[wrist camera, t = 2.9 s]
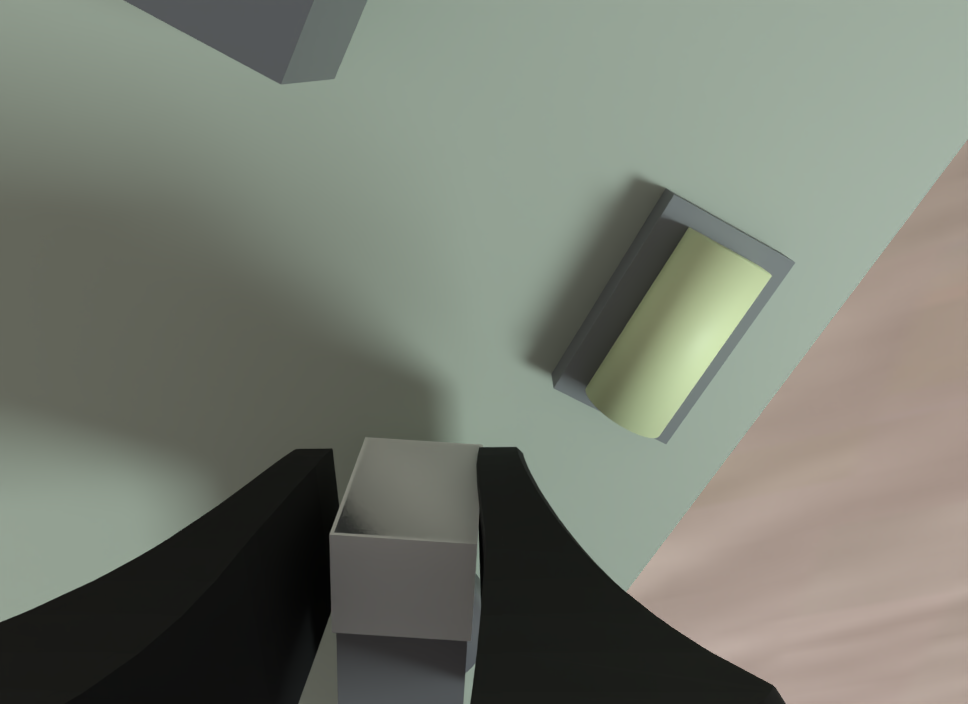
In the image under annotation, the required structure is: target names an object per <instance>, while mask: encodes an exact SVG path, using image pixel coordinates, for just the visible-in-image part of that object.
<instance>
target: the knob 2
mask: <svg viewBox="0 0 968 704" xmlns="http://www.w3.org/2000/svg"><path fill="white" fill-rule="evenodd" d="M479 447H483V445H481V444H465V443H449V442H434V441H418V440H402V439H387V438H371V437H365V439H364V442H363V445H362V448H361V450H360V453H359V456H358V458H357V461H356V464H355V466H354V469H353V472H352V475H351V477H350V480H349V483H348V485H347V488H346V491H345V494H344V496H343V499H342V502H341V504H340V507H339V510H338V513H337V515H336V518H335V521H334V523H333V526H332V529H331V531H330V534H329V542H330V581H331V621H332V633H336V641H337V686H338V704H463V702H464V686H465V673H466V672H468V671H469V670H470V669H471V668H472V667H473V666H474V664H475V662H476V654H477V644H478V634H479V624H480V614H481V591H480V579H479V577H478V576H477V574H476V559H477V543H478V525H479V499H478V489H477V469H476V464H477V456H478V451H479Z"/></svg>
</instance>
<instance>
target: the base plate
mask: <svg viewBox="0 0 968 704" xmlns="http://www.w3.org/2000/svg"><path fill="white" fill-rule="evenodd" d="M967 139H968V0H367V3H366V5H365V7H364V10H363V12H362V15H361V17H360V19H359V22H358V24H357V27H356V29H355V31H354V34H353V36H352V38H351V41H350V43H349V46H348V48H347V50H346V53H345V55H344V58H343V60H342V62H341V65H340V67H339V70H338V72H337V74H336V77H335V79H330V80H321V81H311V82H302V83H292V84H282V85H281V84H279V83H277V82H275V81H273V80H271V79H269V78H268V77H266V76H264V75H262V74H260V73H258V72H256V71H254V70H253V69H251V68H249V67H247V66H245V65H243V64H241V63H240V62H238V61H236V60H234V59H232V58H230V57H228V56H226V55H225V54H223V53H221V52H219V51H217V50H215V49H213V48H212V47H210V46H208V45H206V44H204V43H202V42H200V41H198V40H197V39H195V38H193V37H191V36H189V35H187V34H185V33H184V32H182V31H180V30H178V29H176V28H174V27H172V26H170V25H169V24H167V23H165V22H163V21H161V20H159V19H157V18H155V17H154V16H152V15H150V14H148V13H146V12H144V11H142V10H141V9H139V8H137V7H135V6H133V5H131V4H129V3H127V2H126V1H124V0H0V622H2V621H4V620H7V619H9V618H12V617H14V616H17V615H19V614H22V613H24V612H26V611H29V610H31V609H33V608H35V607H37V606H40V605H42V604H44V603H46V602H48V601H50V600H53V599H55V598H57V597H59V596H61V595H63V594H66V593H68V592H70V591H72V590H74V589H76V588H79V587H81V586H83V585H85V584H87V583H89V582H92V581H94V580H96V579H98V578H99V577H101V576H103V575H105V574H107V573H109V572H111V571H113V570H115V569H116V568H118V567H120V566H122V565H124V564H126V563H127V562H129V561H131V560H133V559H135V558H137V557H138V556H140V555H142V554H144V553H145V552H147V551H149V550H150V549H152V548H154V547H155V546H157V545H159V544H160V543H162V542H164V541H165V540H167V539H168V538H170V537H171V536H173V535H174V534H176V533H177V532H179V531H180V530H182V529H183V528H185V527H186V526H188V525H189V524H191V523H192V522H194V521H195V520H197V519H198V518H200V517H201V516H203V515H204V514H206V513H207V512H209V511H210V510H212V509H213V508H215V507H216V506H218V505H219V504H220V503H222V502H223V501H225V500H226V499H227V498H229V497H230V496H231V495H233V494H234V493H235V492H237V491H238V490H239V489H241V488H242V487H244V486H245V485H246V484H248V483H249V482H250V481H252V480H253V479H254V478H256V477H257V476H258V475H260V474H261V473H262V472H264V471H265V470H266V469H268V468H269V467H270V466H272V465H273V464H274V463H276V462H277V461H279V460H280V459H281V458H283V457H284V456H286V455H287V454H288V453H290V452H292V451H293V450H295V449H327V448H333V456H334V465H335V473H336V482H337V491H338V499H339V507H340V504H341V502H342V499H343V496H344V494H345V491H346V488H347V485H348V483H349V480H350V477H351V475H352V472H353V469H354V466H355V464H356V461H357V458H358V456H359V453H360V450H361V448H362V445H363V442H364V439H365V437H371V438H387V439H402V440H418V441H434V442H449V443H465V444H481V445H483V447H517V448H518V449H519V450H520V451H521V452H522V453H523V454H524V458H525V461H526V463H527V466H528V468H529V470H530V472H531V474H532V476H533V478H534V480H535V481H536V483H537V485H538V487H539V489H540V490H541V492H542V494H543V495H544V497H545V498H546V500H547V501H548V503H549V504H550V506H551V507H552V509H553V510H554V512H555V513H556V515H557V516H558V518H559V519H560V520H561V522H562V523H563V524H564V526H565V527H566V528H567V530H568V531H569V532H570V533H571V535H572V536H573V537H574V538H575V540H576V541H577V542H578V543H579V545H580V546H581V547H582V548H583V549H584V550H585V552H586V553H587V554H588V555H589V556H590V557H591V558H592V559H593V560H594V562H595V563H596V564H597V565H598V566H599V567H600V568H601V569H602V570H603V571H604V572H605V573H606V574H607V575H608V576H609V577H610V578H611V579H612V580H613V581H614V582H615V583H616V584H618V585H619V586H620V587H621V588H622V589H623V590H624V591H625V592H626V591H627V590H628V589H629V587H630V586H631V585H632V583H633V582H634V581H635V579H636V578H637V577H638V575H639V574H640V573H641V571H642V570H643V569H644V567H645V566H646V565H647V563H648V562H649V561H650V559H651V558H652V557H653V555H654V554H655V553H656V552H657V550H658V549H659V548H660V546H661V545H662V544H663V542H664V541H665V540H666V538H667V537H668V536H669V534H670V533H671V532H672V530H673V529H674V528H675V526H676V525H677V524H678V522H679V521H680V520H681V518H682V517H683V516H684V514H685V513H686V512H687V510H688V509H689V508H690V506H691V505H692V504H693V502H694V501H695V500H696V498H697V497H698V496H699V495H700V493H701V492H702V491H703V489H704V488H705V487H706V485H707V484H708V483H709V481H710V480H711V479H712V477H713V476H714V475H715V473H716V472H717V471H718V469H719V468H720V467H721V465H722V464H723V463H724V461H725V460H726V459H727V457H728V456H729V455H730V453H731V452H732V451H733V449H734V448H735V447H736V445H737V444H738V443H739V441H740V440H741V439H742V438H743V436H744V435H745V434H746V432H747V431H748V430H749V428H750V427H751V426H752V424H753V423H754V422H755V420H756V419H757V418H758V416H759V415H760V414H761V412H762V411H763V410H764V408H765V407H766V406H767V404H768V403H769V402H770V400H771V399H772V398H773V396H774V395H775V394H776V392H777V391H778V390H779V388H780V387H781V386H782V384H783V383H784V382H785V381H786V379H787V378H788V377H789V375H790V374H791V373H792V371H793V370H794V369H795V367H796V366H797V365H798V363H799V362H800V361H801V359H802V358H803V357H804V355H805V354H806V353H807V351H808V350H809V349H810V347H811V346H812V345H813V343H814V342H815V341H816V339H817V338H818V337H819V335H820V334H821V333H822V331H823V330H824V329H825V327H826V326H827V325H828V324H829V322H830V321H831V320H832V318H833V317H834V316H835V314H836V313H837V312H838V310H839V309H840V308H841V306H842V305H843V304H844V302H845V301H846V300H847V298H848V297H849V296H850V294H851V293H852V292H853V290H854V289H855V288H856V286H857V285H858V284H859V282H860V281H861V280H862V278H863V277H864V276H865V274H866V273H867V272H868V270H869V269H870V268H871V267H872V265H873V264H874V263H875V261H876V260H877V259H878V257H879V256H880V255H881V253H882V252H883V251H884V249H885V248H886V247H887V245H888V244H889V243H890V241H891V240H892V239H893V237H894V236H895V235H896V233H897V232H898V231H899V229H900V228H901V227H902V225H903V224H904V223H905V221H906V220H907V219H908V217H909V216H910V215H911V213H912V212H913V211H914V210H915V208H916V207H917V206H918V204H919V203H920V202H921V200H922V199H923V198H924V196H925V195H926V194H927V192H928V191H929V190H930V188H931V187H932V186H933V184H934V183H935V182H936V180H937V179H938V178H939V176H940V175H941V174H942V172H943V171H944V170H945V168H946V167H947V166H948V164H949V163H950V162H951V160H952V159H953V158H954V156H955V155H956V154H957V153H958V151H959V150H960V149H961V147H962V146H963V145H964V143H965V142H966V141H967ZM476 574H477V576H478V577H479V579H480V560H479V530H478V543H477V559H476ZM474 670H475V664H474V666H473V667H472V668H471V669H470V670H469V671H468V672H466V673H465V686H464V702H463V704H470V701H471V694H472V686H473V678H474ZM298 704H338V686H337V641H336V633H332V621H331V614H330V617H329V620H328V622H327V625H326V628H325V631H324V634H323V637H322V639H321V642H320V645H319V648H318V651H317V654H316V656H315V659H314V662H313V665H312V667H311V670H310V673H309V676H308V678H307V681H306V684H305V687H304V689H303V692H302V695H301V698H300V701H299V703H298Z"/></svg>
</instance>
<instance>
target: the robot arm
mask: <svg viewBox="0 0 968 704" xmlns="http://www.w3.org/2000/svg"><path fill="white" fill-rule="evenodd" d="M476 469H477V489H478V499H479V525H478V530H479V560H480V591H481V614H480V624H479V634H478V644H477V654H476V662H475V670H474V678H473V686H472V694H471V701H470V704H786V703H785V702H784V700H783V699H782V697H781V696H780V694H779V692H778V691H777V689H776V688H775V687H774V686H773V685H771V684H770V683H768V682H766V681H764V680H762V679H760V678H758V677H756V676H755V675H753V674H751V673H749V672H747V671H745V670H743V669H741V668H740V667H738V666H736V665H734V664H732V663H730V662H728V661H726V660H725V659H723V658H721V657H719V656H717V655H715V654H713V653H711V652H710V651H708V650H706V649H705V648H703V647H702V646H700V645H698V644H697V643H695V642H694V641H692V640H691V639H689V638H688V637H686V636H685V635H683V634H681V633H680V632H678V631H677V630H675V629H674V628H672V627H671V626H669V625H668V624H667V623H665V622H664V621H662V620H661V619H660V618H658V617H657V616H655V615H654V614H653V613H652V612H650V611H649V610H648V609H647V608H645V607H644V606H643V605H642V604H640V603H639V602H638V601H636V600H635V599H634V598H633V597H631V596H630V595H629V594H628V593H626V592H625V591H624V590H623V589H622V588H621V587H620V586H619V585H618V584H616V583H615V582H614V581H613V580H612V579H611V578H610V577H609V576H608V575H607V574H606V573H605V572H604V571H603V570H602V569H601V568H600V567H599V566H598V565H597V564H596V563H595V562H594V560H593V559H592V558H591V557H590V556H589V555H588V554H587V553H586V552H585V550H584V549H583V548H582V547H581V546H580V545H579V543H578V542H577V541H576V540H575V538H574V537H573V536H572V535H571V533H570V532H569V531H568V530H567V528H566V527H565V526H564V524H563V523H562V522H561V520H560V519H559V518H558V516H557V515H556V513H555V512H554V510H553V509H552V507H551V506H550V504H549V503H548V501H547V500H546V498H545V497H544V495H543V494H542V492H541V490H540V489H539V487H538V485H537V483H536V481H535V480H534V478H533V476H532V474H531V472H530V470H529V468H528V466H527V463H526V461H525V458H524V454H523V453H522V452H521V451H520V450H519V449H518V448H517V447H479V451H478V456H477V464H476ZM338 510H339V499H338V491H337V482H336V473H335V465H334V456H333V448H327V449H295V450H293V451H292V452H290V453H288V454H287V455H286V456H284V457H283V458H281V459H280V460H279V461H277V462H276V463H274V464H273V465H272V466H270V467H269V468H268V469H266V470H265V471H264V472H262V473H261V474H260V475H258V476H257V477H256V478H254V479H253V480H252V481H250V482H249V483H248V484H246V485H245V486H244V487H242V488H241V489H239V490H238V491H237V492H235V493H234V494H233V495H231V496H230V497H229V498H227V499H226V500H225V501H223V502H222V503H220V504H219V505H218V506H216V507H215V508H213V509H212V510H210V511H209V512H207V513H206V514H204V515H203V516H201V517H200V518H198V519H197V520H195V521H194V522H192V523H191V524H189V525H188V526H186V527H185V528H183V529H182V530H180V531H179V532H177V533H176V534H174V535H173V536H171V537H170V538H168V539H167V540H165V541H164V542H162V543H160V544H159V545H157V546H155V547H154V548H152V549H150V550H149V551H147V552H145V553H144V554H142V555H140V556H138V557H137V558H135V559H133V560H131V561H129V562H127V563H126V564H124V565H122V566H120V567H118V568H116V569H115V570H113V571H111V572H109V573H107V574H105V575H103V576H101V577H99V578H98V579H96V580H94V581H92V582H89V583H87V584H85V585H83V586H81V587H79V588H76V589H74V590H72V591H70V592H68V593H66V594H63V595H61V596H59V597H57V598H55V599H53V600H50V601H48V602H46V603H44V604H42V605H40V606H37V607H35V608H33V609H31V610H29V611H26V612H24V613H22V614H19V615H17V616H14V617H12V618H9V619H7V620H4V621H2V622H0V704H298V703H299V701H300V698H301V695H302V692H303V689H304V687H305V684H306V681H307V678H308V676H309V673H310V670H311V667H312V665H313V662H314V659H315V656H316V654H317V651H318V648H319V645H320V642H321V639H322V637H323V634H324V631H325V628H326V625H327V622H328V620H329V617H330V614H331V581H330V542H329V534H330V531H331V529H332V526H333V523H334V521H335V518H336V515H337V513H338Z"/></svg>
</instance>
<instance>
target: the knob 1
mask: <svg viewBox="0 0 968 704" xmlns="http://www.w3.org/2000/svg"><path fill="white" fill-rule="evenodd" d="M124 1H126V2H127V3H129V4H131V5H133V6H135V7H137V8H139V9H141V10H142V11H144V12H146V13H148V14H150V15H152V16H154V17H155V18H157V19H159V20H161V21H163V22H165V23H167V24H169V25H170V26H172V27H174V28H176V29H178V30H180V31H182V32H184V33H185V34H187V35H189V36H191V37H193V38H195V39H197V40H198V41H200V42H202V43H204V44H206V45H208V46H210V47H212V48H213V49H215V50H217V51H219V52H221V53H223V54H225V55H226V56H228V57H230V58H232V59H234V60H236V61H238V62H240V63H241V64H243V65H245V66H247V67H249V68H251V69H253V70H254V71H256V72H258V73H260V74H262V75H264V76H266V77H268V78H269V79H271V80H273V81H275V82H277V83H279V84H281V85H282V84H292V83H302V82H311V81H321V80H330V79H335V77H336V74H337V72H338V70H339V67H340V65H341V62H342V60H343V58H344V55H345V53H346V50H347V48H348V46H349V43H350V41H351V38H352V36H353V34H354V31H355V29H356V27H357V24H358V22H359V19H360V17H361V15H362V12H363V10H364V7H365V5H366V3H367V0H124Z"/></svg>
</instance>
